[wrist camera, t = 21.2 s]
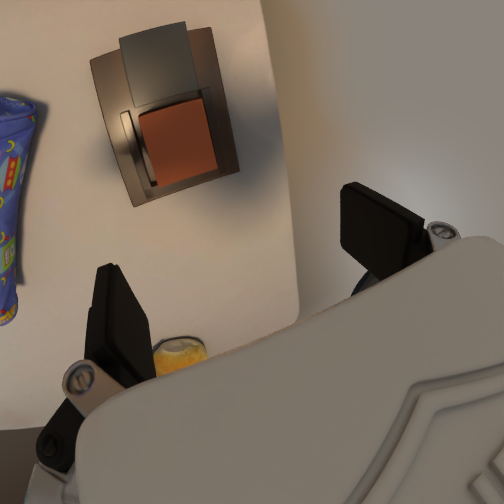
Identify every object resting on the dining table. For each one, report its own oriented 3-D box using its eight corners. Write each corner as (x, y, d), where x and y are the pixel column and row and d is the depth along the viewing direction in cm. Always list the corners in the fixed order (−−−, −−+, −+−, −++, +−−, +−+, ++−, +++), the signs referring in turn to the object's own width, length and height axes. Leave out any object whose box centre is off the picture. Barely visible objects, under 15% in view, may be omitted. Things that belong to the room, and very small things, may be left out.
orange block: (193, 98, 21) (202, 98, 18) (206, 158, 25) (218, 168, 22) (138, 115, 20) (137, 117, 17) (156, 175, 24) (159, 188, 21)
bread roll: (157, 376, 40) (162, 396, 37) (148, 341, 35) (151, 363, 32) (206, 368, 43) (213, 387, 40) (205, 332, 38) (212, 353, 35)
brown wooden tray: (208, 29, 19) (223, 15, 15) (236, 168, 28) (255, 183, 24) (91, 61, 17) (79, 53, 13) (133, 203, 26) (133, 225, 21)
